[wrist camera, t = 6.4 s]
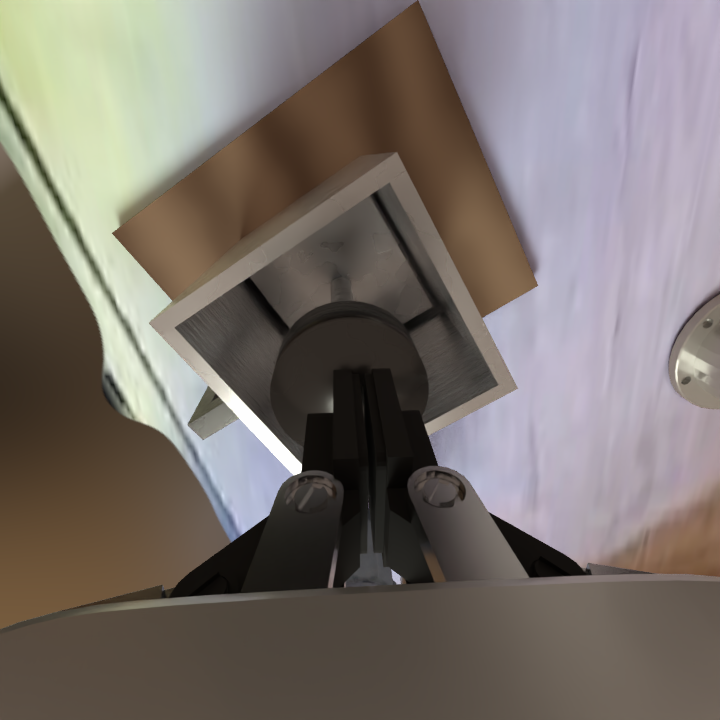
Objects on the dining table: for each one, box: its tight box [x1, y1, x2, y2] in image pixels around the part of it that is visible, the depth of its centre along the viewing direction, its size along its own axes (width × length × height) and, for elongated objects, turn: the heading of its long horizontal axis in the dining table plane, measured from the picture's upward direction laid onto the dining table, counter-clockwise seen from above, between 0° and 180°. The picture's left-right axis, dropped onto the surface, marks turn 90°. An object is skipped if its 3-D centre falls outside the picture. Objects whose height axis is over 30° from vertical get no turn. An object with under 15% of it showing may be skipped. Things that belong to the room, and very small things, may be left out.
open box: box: [149, 152, 518, 475], centre depth 22 cm, size 13×10×16 cm
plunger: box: [250, 196, 432, 447], centre depth 18 cm, size 8×8×13 cm
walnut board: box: [112, 0, 538, 317], centre depth 30 cm, size 24×20×1 cm
